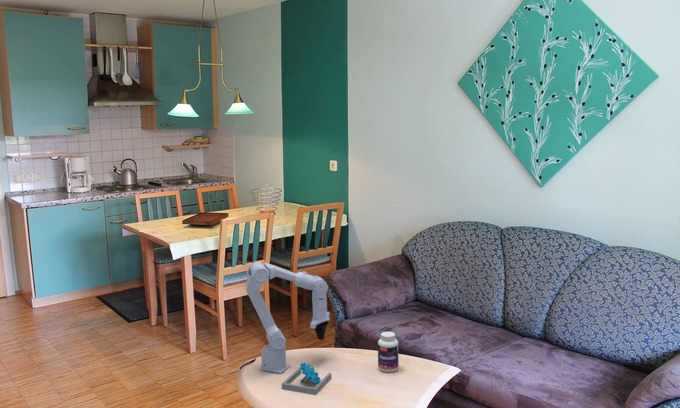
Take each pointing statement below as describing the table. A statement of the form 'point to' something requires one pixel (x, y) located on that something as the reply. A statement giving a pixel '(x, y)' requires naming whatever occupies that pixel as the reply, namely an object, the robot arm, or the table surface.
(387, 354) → the pill bottle
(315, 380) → the gear
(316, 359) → the table surface
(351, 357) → the table surface
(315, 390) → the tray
